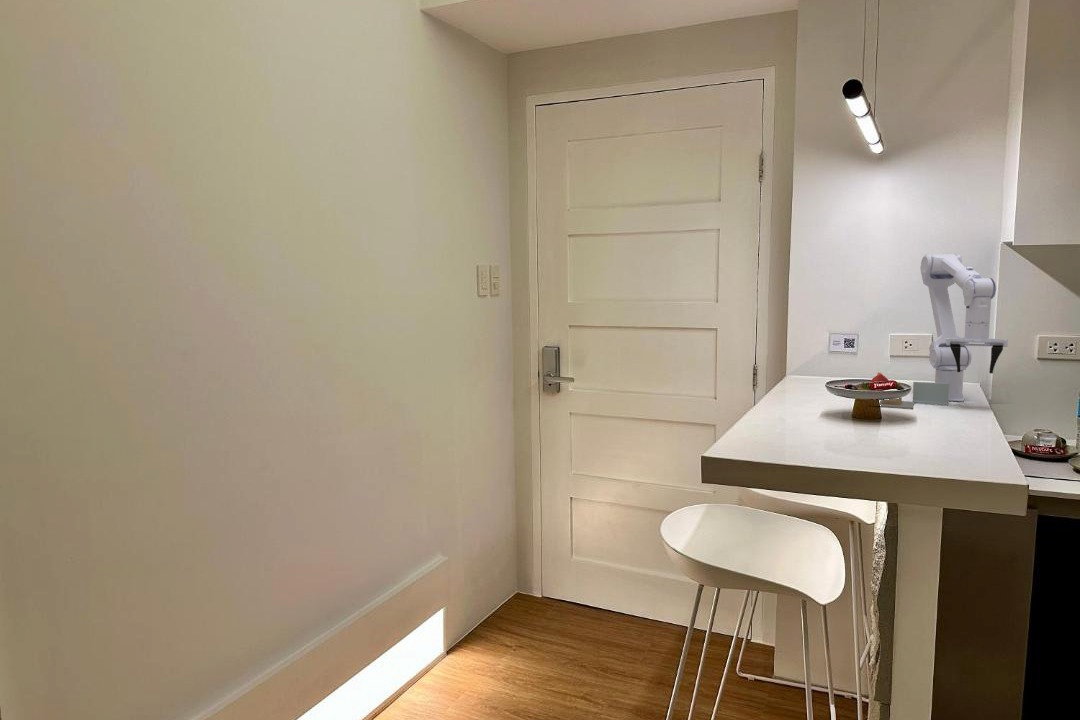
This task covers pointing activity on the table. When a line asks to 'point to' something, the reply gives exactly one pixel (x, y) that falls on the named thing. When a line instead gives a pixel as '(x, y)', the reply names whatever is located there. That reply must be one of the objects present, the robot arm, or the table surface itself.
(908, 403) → the grey square plate
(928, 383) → the screen
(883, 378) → the onion
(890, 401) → the taped cardboard box
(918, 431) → the table surface
